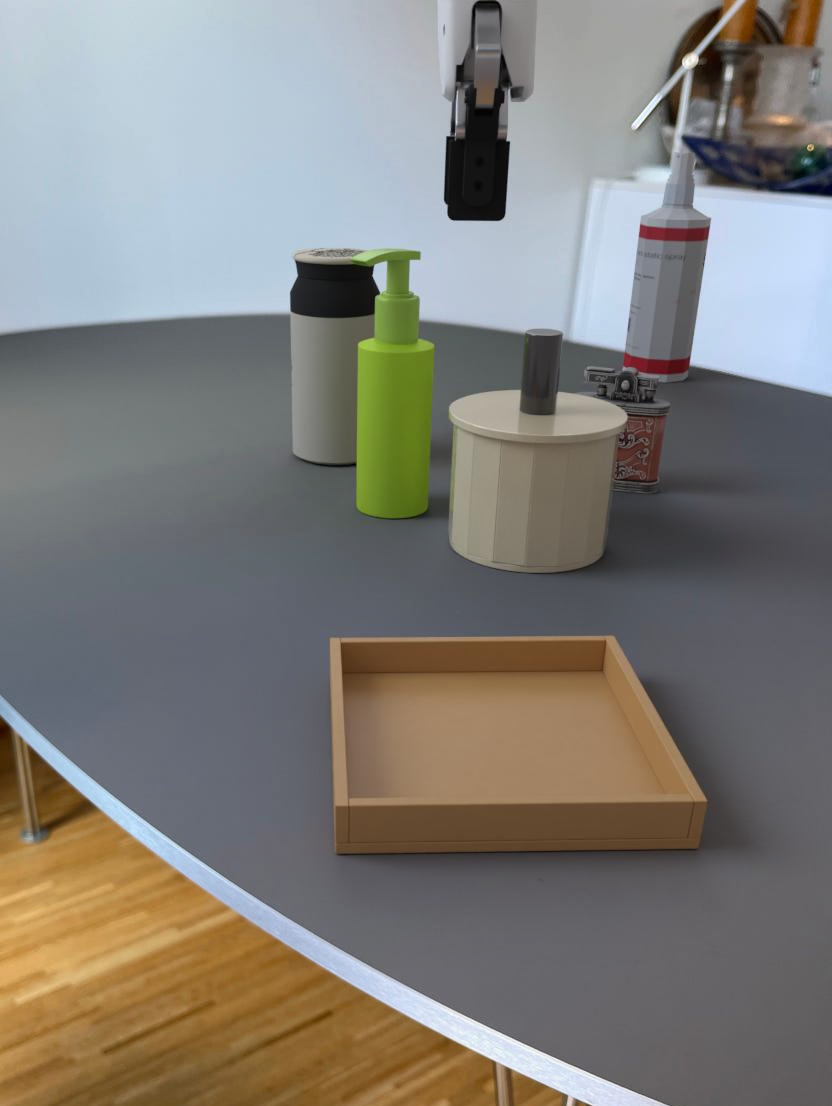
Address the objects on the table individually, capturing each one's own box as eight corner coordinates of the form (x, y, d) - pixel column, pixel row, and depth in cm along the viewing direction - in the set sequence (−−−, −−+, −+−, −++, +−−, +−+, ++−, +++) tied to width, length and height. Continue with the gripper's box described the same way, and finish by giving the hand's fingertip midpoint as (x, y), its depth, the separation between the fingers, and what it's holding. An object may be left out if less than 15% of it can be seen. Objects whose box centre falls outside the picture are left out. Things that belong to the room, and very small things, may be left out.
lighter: (661, 484, 93) (677, 369, 89) (653, 496, 90) (670, 377, 86) (570, 472, 96) (582, 360, 92) (560, 482, 93) (572, 367, 89)
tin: (584, 516, 86) (597, 399, 82) (621, 572, 76) (639, 441, 71) (441, 516, 86) (446, 399, 81) (458, 573, 75) (466, 442, 71)
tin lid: (601, 405, 82) (611, 315, 79) (647, 452, 71) (661, 350, 68) (439, 405, 82) (443, 315, 79) (459, 453, 71) (464, 350, 68)
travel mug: (393, 451, 102) (398, 251, 94) (345, 472, 96) (347, 261, 88) (325, 437, 106) (324, 245, 97) (275, 457, 100) (270, 253, 92)
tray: (608, 675, 62) (614, 635, 61) (699, 849, 47) (708, 801, 46) (329, 677, 61) (329, 637, 60) (334, 854, 47) (334, 805, 46)
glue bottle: (610, 374, 132) (635, 151, 121) (645, 365, 136) (673, 150, 125) (664, 385, 127) (696, 154, 115) (699, 376, 131) (733, 152, 120)
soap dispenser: (331, 507, 87) (331, 248, 78) (394, 490, 91) (401, 242, 82) (379, 526, 83) (384, 256, 74) (442, 508, 87) (455, 249, 78)
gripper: (584, -177, 48) (551, 228, 56) (544, -109, 63) (522, 201, 71) (417, -176, 48) (407, 226, 56) (418, -108, 64) (410, 200, 72)
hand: (472, 212), depth 64 cm, fingers open, 9 cm apart
